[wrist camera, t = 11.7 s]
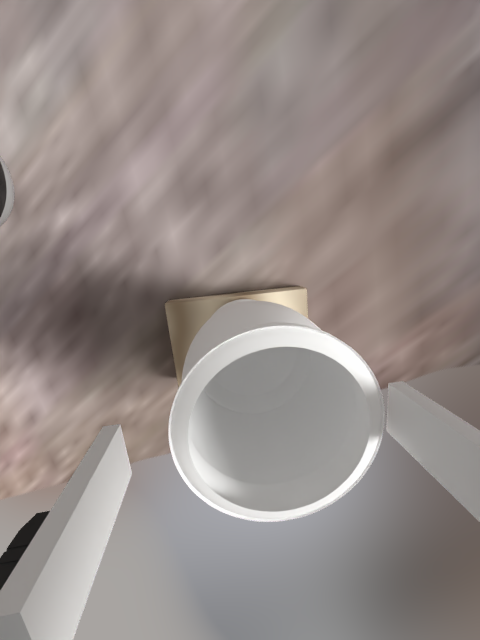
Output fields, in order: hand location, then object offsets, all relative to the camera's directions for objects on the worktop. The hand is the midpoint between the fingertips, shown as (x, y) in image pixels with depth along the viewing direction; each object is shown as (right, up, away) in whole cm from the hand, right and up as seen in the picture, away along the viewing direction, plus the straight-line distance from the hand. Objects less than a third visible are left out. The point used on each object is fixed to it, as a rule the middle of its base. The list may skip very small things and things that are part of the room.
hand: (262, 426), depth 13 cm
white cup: (-1, +3, +14) cm, 15 cm away
